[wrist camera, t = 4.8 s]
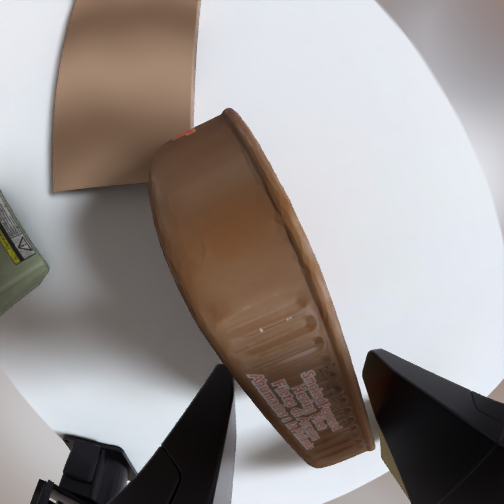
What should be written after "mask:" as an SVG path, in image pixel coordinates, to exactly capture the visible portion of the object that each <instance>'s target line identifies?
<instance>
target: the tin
mask: <svg viewBox="0 0 504 504" xmlns="http://www.w3.org/2000/svg"><path fill="white" fill-rule="evenodd" d="M148 187H149V197H150V204H151V210H152V215H153V220H154V224H155V228H156V231H157V235H158V238H159V242H160V245H161V248H162V251H163V253H164V256H165V259H166V261H167V264H168V266H169V268H170V271H171V273H172V275H173V278H174V280H175V282H176V285H177V287H178V289H179V291H180V293H181V295H182V297H183V299H184V301H185V303H186V305H187V307H188V309H189V311H190V313H191V315H192V317H193V318H194V320H195V322H196V323H197V325H198V327H199V328H200V330H201V331H202V333H203V335H204V336H205V337H206V339H207V340H208V342H209V343H210V345H211V346H212V348H213V349H214V351H215V352H216V353H217V355H218V356H219V358H220V359H221V361H222V362H223V363H224V364H225V366H226V367H227V368H228V370H229V372H230V373H231V374H232V376H233V377H234V378H235V380H236V381H237V382H238V384H239V385H240V386H241V388H242V389H243V390H244V391H245V393H246V394H247V395H248V396H249V398H250V399H251V400H252V401H253V403H254V404H255V405H256V406H257V408H258V409H259V410H260V411H261V413H262V414H263V415H264V417H265V418H266V419H267V420H268V421H269V422H270V423H271V424H272V426H273V427H274V428H275V429H276V430H277V432H278V433H279V434H280V435H281V436H282V437H283V438H284V439H285V441H286V442H287V443H288V444H289V445H290V446H291V447H292V448H293V449H294V450H295V451H296V452H297V453H298V455H299V456H300V457H301V458H302V459H303V460H304V461H305V462H306V463H307V464H309V465H310V466H312V467H314V468H323V467H327V466H331V465H334V464H336V463H339V462H342V461H344V460H347V459H349V458H352V457H354V456H356V455H359V454H361V453H363V452H365V451H373V450H374V449H375V443H374V438H373V435H372V430H371V427H370V424H369V419H368V415H367V411H366V409H365V404H364V402H363V398H362V395H361V391H360V387H359V384H358V381H357V377H356V374H355V371H354V368H353V364H352V361H351V357H350V354H349V351H348V348H347V345H346V342H345V339H344V336H343V333H342V330H341V326H340V323H339V320H338V318H337V315H336V311H335V308H334V305H333V303H332V300H331V297H330V294H329V291H328V288H327V286H326V283H325V280H324V277H323V275H322V272H321V269H320V267H319V264H318V262H317V260H316V257H315V255H314V253H313V250H312V248H311V246H310V244H309V241H308V239H307V237H306V235H305V232H304V230H303V228H302V226H301V224H300V222H299V220H298V218H297V216H296V213H295V211H294V209H293V207H292V204H291V202H290V199H289V198H288V196H287V195H286V193H285V190H284V188H283V186H282V185H281V184H280V182H279V180H278V178H277V176H276V174H275V172H274V171H273V169H272V166H271V164H270V162H269V161H268V159H267V158H266V156H265V154H264V152H263V151H262V149H261V147H260V144H259V143H258V141H257V140H256V139H255V137H254V136H253V134H252V132H251V131H250V129H249V128H248V126H247V125H246V124H245V122H244V121H243V120H242V118H241V117H240V115H239V114H238V113H237V112H236V111H234V110H233V109H232V108H227V109H225V110H224V111H223V113H222V114H221V115H219V116H217V117H215V118H213V119H211V120H209V121H207V122H205V123H203V124H201V125H198V126H196V127H194V128H192V129H190V130H188V131H186V132H184V133H182V134H180V135H178V136H176V137H175V138H173V139H171V140H170V141H168V142H166V143H165V144H164V145H162V146H161V147H160V148H159V150H158V151H157V152H156V154H155V155H154V157H153V159H152V161H151V164H150V167H149V172H148Z"/></svg>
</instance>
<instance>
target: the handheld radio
mask: <svg viewBox="0 0 504 504" xmlns="http://www.w3.org/2000/svg"><path fill="white" fill-rule="evenodd" d="M48 271H49V267H48V265H47V263H46V262H45V260H44V259H43V258H42V256H41V255H40V254H39V252H38V251H37V249H36V248H35V246H34V245H33V243H32V242H31V240H30V239H29V237H28V236H27V234H26V233H25V231H24V230H23V228H22V227H21V225H20V223H19V222H18V220H17V219H16V217H15V215H14V214H13V212H12V210H11V208H10V207H9V205H8V203H7V202H6V200H5V198H4V196H3V194H2V192H1V191H0V316H1V315H2V314H3V313H5V312H6V311H7V310H8V309H9V308H11V307H12V306H13V305H14V304H15V303H17V302H18V301H19V300H20V299H22V298H23V297H24V296H25V295H27V294H28V293H29V292H30V291H32V290H33V289H34V288H36V287H37V286H38V285H39V284H40V283H41V281H42V280H43V278H44V277H45V276H46V274H47V273H48Z"/></svg>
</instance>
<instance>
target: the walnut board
mask: <svg viewBox="0 0 504 504" xmlns="http://www.w3.org/2000/svg"><path fill="white" fill-rule="evenodd" d="M200 4H201V0H76V2H75V5H74V8H73V12H72V15H71V19H70V22H69V26H68V30H67V34H66V38H65V43H64V47H63V52H62V57H61V63H60V69H59V75H58V82H57V89H56V98H55V108H54V121H53V145H52V168H53V192H59V191H66V190H74V189H83V188H91V187H101V186H111V185H123V184H135V183H148V172H149V167H150V164H151V161H152V159H153V157H154V155H155V154H156V152H157V151H158V150H159V148H160V147H161V146H162V145H164V144H165V143H166V142H168V141H170V140H171V139H173V138H175V137H176V136H178V135H180V134H182V133H184V132H186V131H188V130H190V129H192V128H193V124H194V90H195V69H196V52H197V38H198V25H199V14H200Z"/></svg>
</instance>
